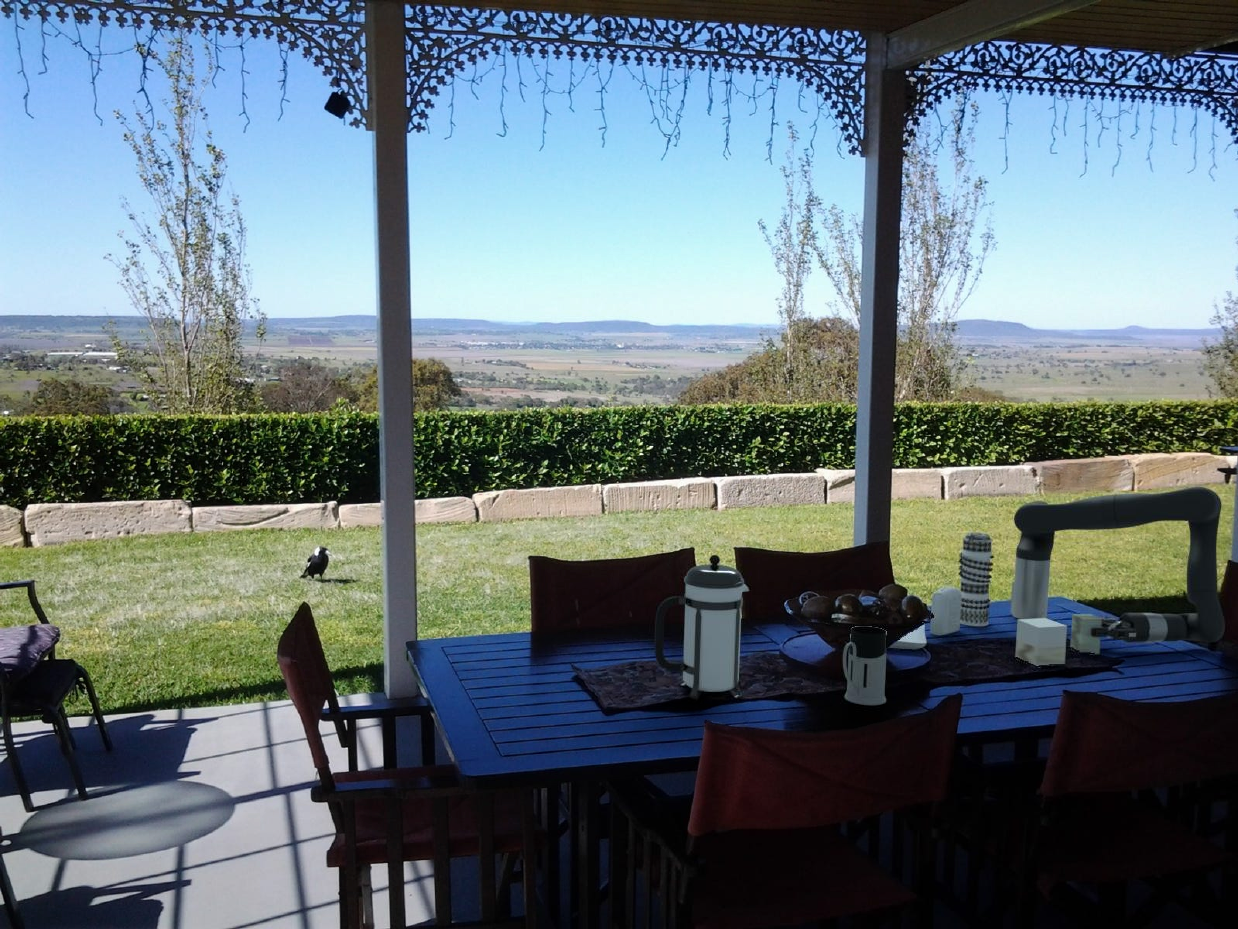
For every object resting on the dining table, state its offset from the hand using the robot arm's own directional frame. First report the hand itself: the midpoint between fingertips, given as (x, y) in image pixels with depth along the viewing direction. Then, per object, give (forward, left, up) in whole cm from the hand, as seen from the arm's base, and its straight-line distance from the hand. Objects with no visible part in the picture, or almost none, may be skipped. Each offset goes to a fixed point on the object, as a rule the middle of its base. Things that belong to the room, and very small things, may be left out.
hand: (1082, 628), depth 278 cm
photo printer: (-24, -24, -6) cm, 34 cm away
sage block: (0, +1, -6) cm, 6 cm away
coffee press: (+11, -106, -6) cm, 107 cm away
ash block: (+6, -17, -6) cm, 19 cm away
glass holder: (+24, -76, -6) cm, 80 cm away
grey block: (+6, -17, -1) cm, 18 cm away
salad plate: (-20, -45, -7) cm, 50 cm away
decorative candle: (-32, -10, -6) cm, 34 cm away
